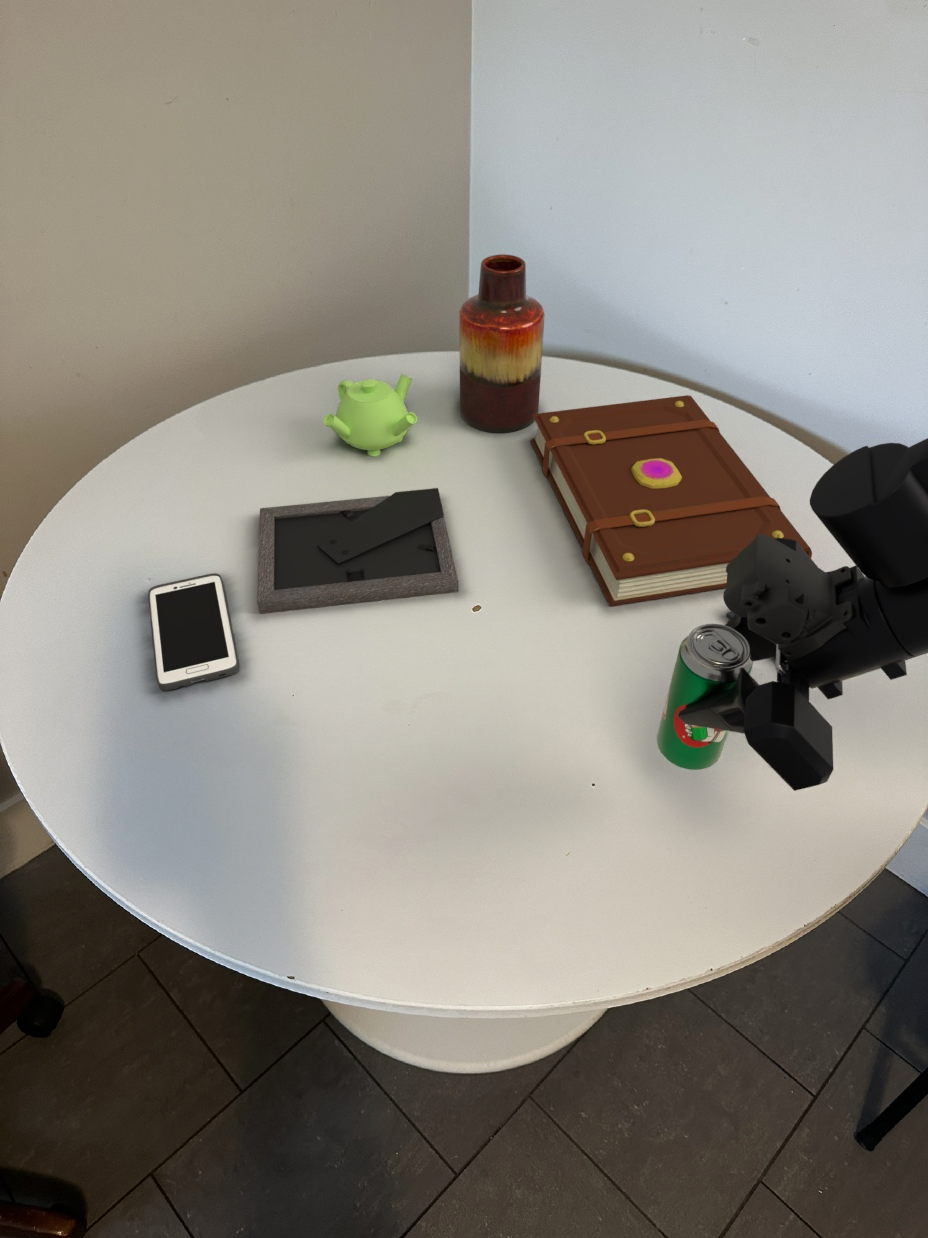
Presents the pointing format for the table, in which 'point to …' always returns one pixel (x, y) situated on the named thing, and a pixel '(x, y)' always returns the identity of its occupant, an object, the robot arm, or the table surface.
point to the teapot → (372, 414)
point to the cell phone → (191, 632)
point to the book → (654, 496)
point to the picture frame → (354, 551)
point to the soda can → (701, 693)
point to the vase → (500, 349)
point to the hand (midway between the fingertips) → (685, 690)
